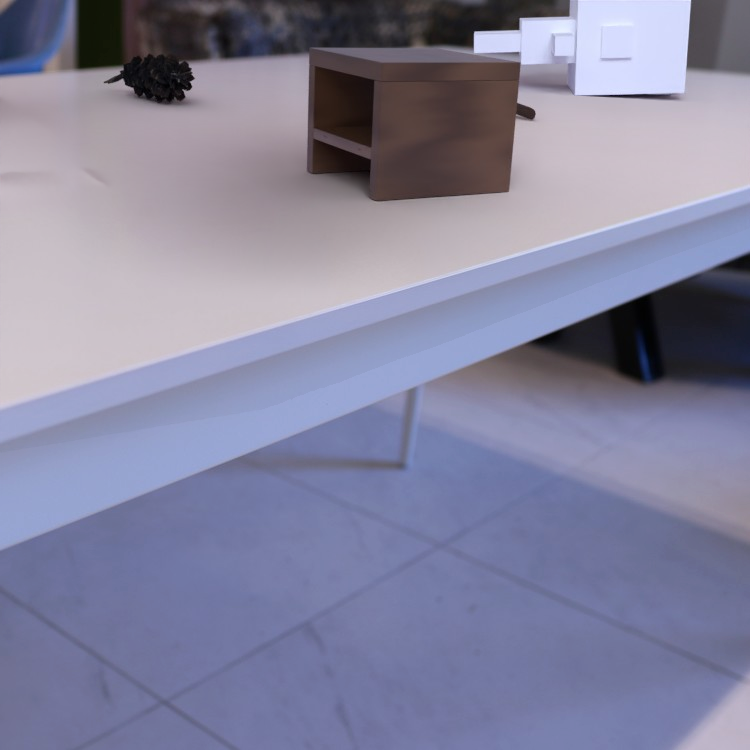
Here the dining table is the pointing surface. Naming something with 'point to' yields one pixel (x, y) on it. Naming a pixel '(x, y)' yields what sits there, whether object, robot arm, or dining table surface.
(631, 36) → the blocky voxel creature
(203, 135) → the dining table surface
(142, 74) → the pine cone
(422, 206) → the dining table surface
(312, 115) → the shelf
